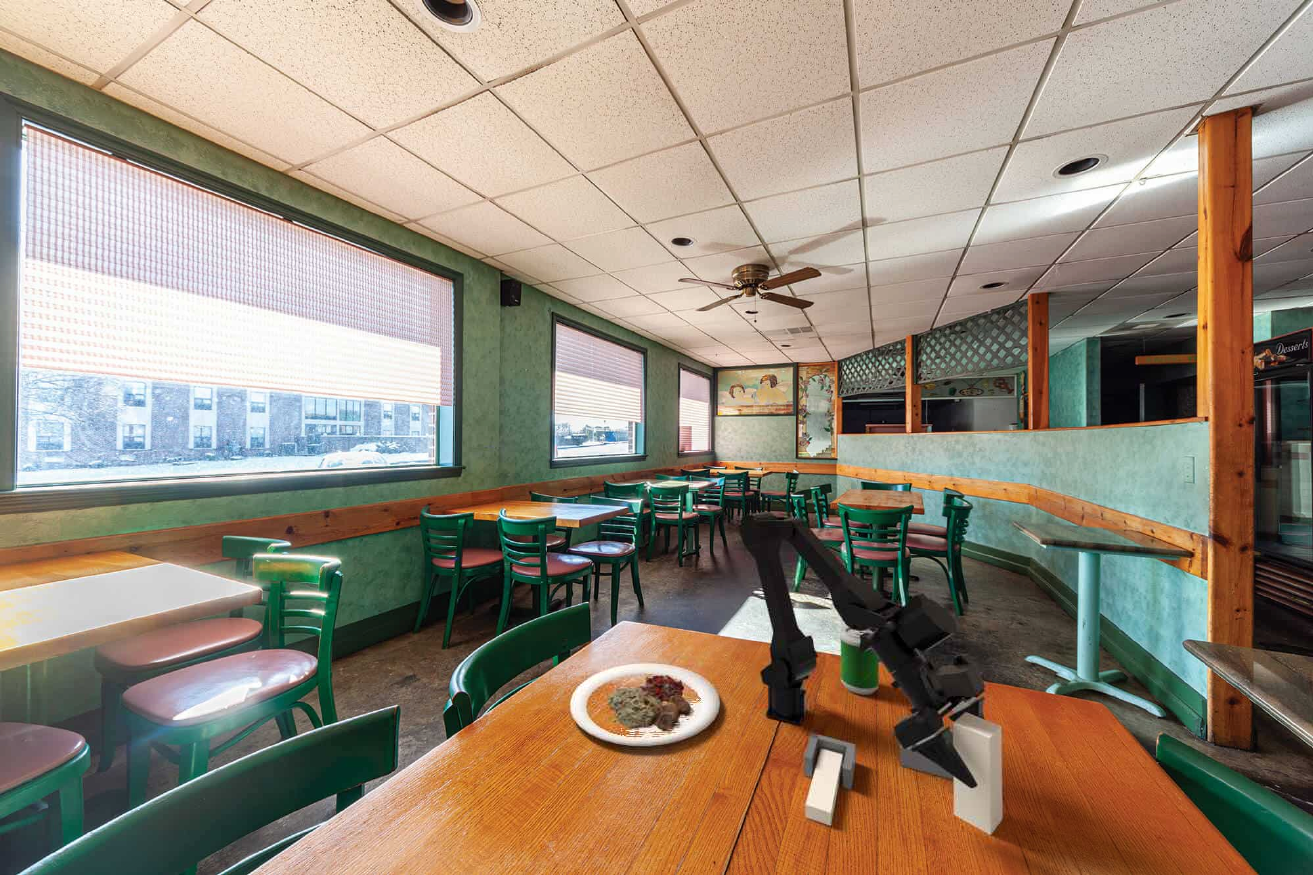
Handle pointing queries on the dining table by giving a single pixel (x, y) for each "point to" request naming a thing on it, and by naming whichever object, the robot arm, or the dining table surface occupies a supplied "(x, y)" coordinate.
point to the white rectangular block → (979, 772)
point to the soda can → (858, 664)
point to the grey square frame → (922, 760)
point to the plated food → (649, 704)
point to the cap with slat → (827, 774)
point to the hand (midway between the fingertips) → (987, 772)
